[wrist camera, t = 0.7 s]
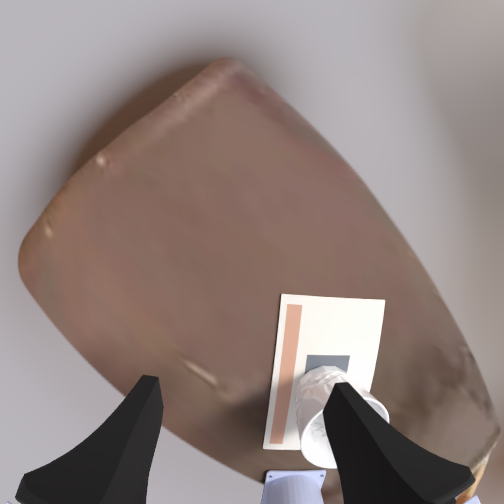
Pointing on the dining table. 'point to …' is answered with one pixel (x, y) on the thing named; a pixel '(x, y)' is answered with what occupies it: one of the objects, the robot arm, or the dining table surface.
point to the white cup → (311, 407)
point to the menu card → (318, 353)
